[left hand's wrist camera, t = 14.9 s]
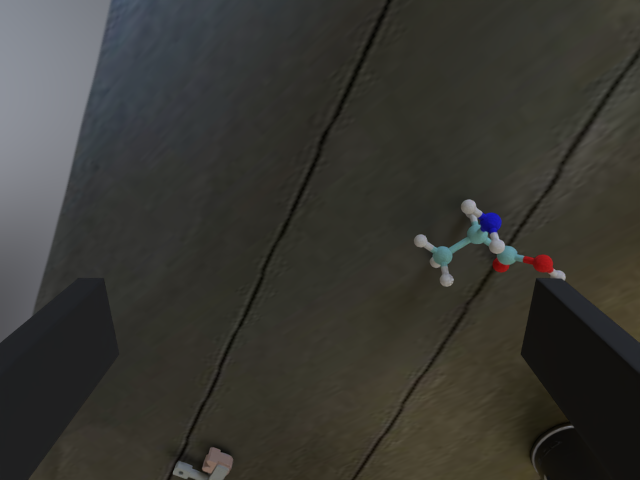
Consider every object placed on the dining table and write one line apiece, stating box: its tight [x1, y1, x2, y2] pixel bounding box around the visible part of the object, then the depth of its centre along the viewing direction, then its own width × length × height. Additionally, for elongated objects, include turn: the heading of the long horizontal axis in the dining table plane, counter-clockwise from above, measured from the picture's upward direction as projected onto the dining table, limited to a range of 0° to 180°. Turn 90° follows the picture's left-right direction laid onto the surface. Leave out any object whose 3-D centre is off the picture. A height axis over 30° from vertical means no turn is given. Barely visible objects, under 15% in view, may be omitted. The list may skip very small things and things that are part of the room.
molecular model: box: [414, 200, 566, 287], centre depth 39 cm, size 12×10×10 cm
